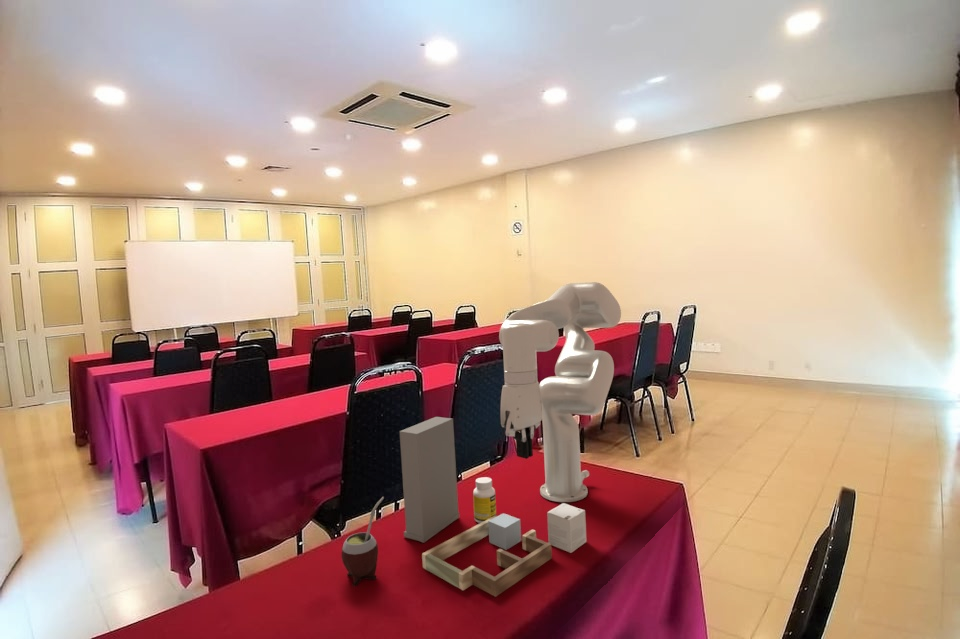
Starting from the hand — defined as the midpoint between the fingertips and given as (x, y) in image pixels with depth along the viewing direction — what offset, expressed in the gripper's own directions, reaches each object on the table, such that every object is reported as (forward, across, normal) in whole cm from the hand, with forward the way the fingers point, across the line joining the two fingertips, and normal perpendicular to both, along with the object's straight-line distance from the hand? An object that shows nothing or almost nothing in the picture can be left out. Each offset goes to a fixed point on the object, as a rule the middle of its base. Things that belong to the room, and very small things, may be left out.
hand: (524, 456), depth 117 cm
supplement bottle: (+17, +3, -11) cm, 21 cm away
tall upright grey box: (+17, +14, -18) cm, 29 cm away
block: (+17, +8, 0) cm, 19 cm away
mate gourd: (+17, +36, -13) cm, 42 cm away
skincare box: (+17, 0, +11) cm, 21 cm away
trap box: (+17, +15, +3) cm, 23 cm away
